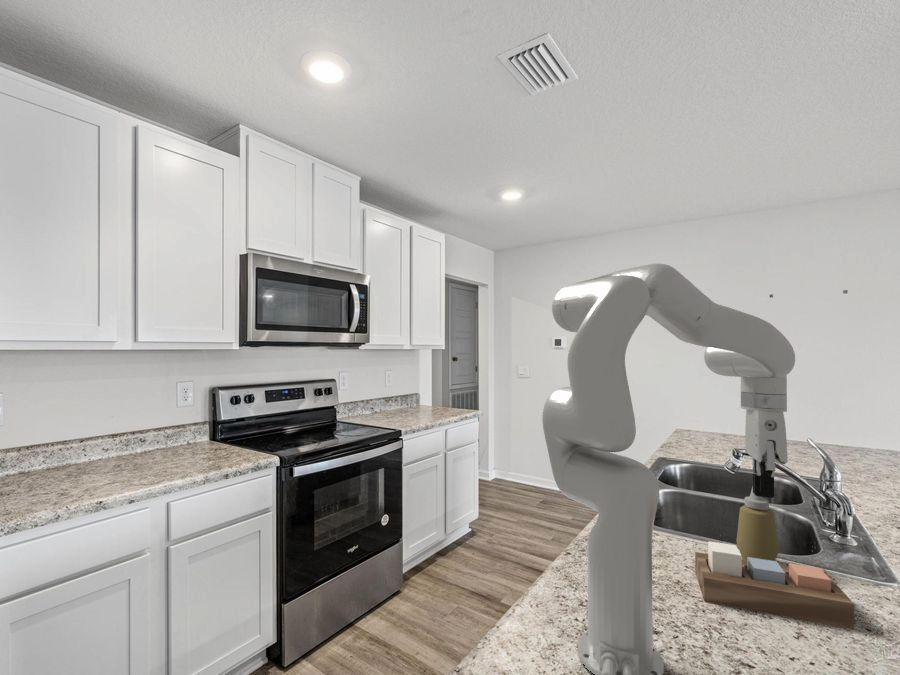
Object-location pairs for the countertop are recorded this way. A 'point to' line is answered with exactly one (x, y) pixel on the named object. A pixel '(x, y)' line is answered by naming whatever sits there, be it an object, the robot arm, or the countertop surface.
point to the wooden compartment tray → (775, 596)
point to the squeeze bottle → (757, 529)
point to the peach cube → (809, 577)
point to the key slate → (765, 570)
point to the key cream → (724, 559)
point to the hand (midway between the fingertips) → (763, 495)
